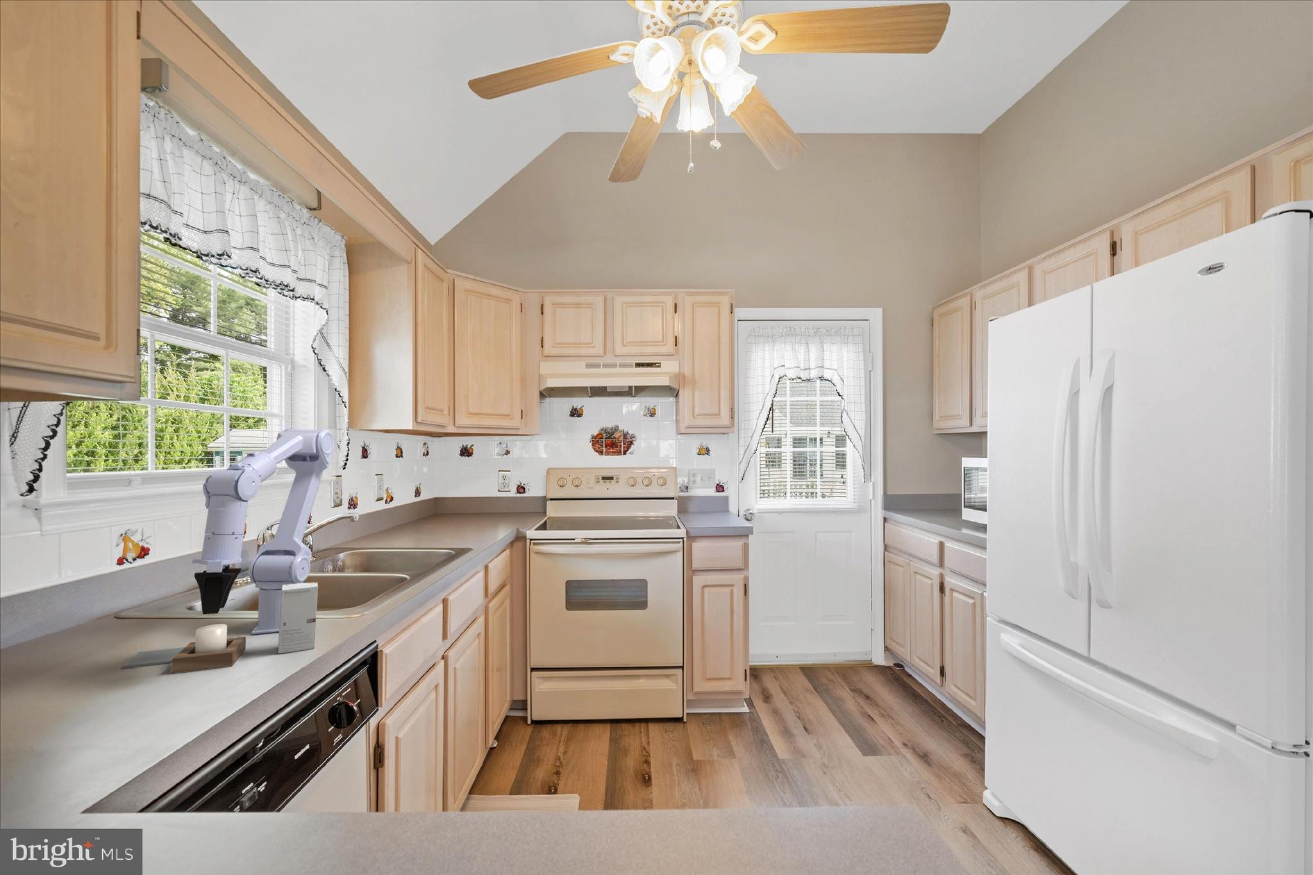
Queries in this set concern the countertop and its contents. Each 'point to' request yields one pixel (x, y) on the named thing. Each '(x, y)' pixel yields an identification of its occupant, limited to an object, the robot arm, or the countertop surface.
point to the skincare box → (297, 617)
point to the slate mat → (152, 657)
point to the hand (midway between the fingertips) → (213, 610)
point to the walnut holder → (208, 657)
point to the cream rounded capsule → (211, 638)
